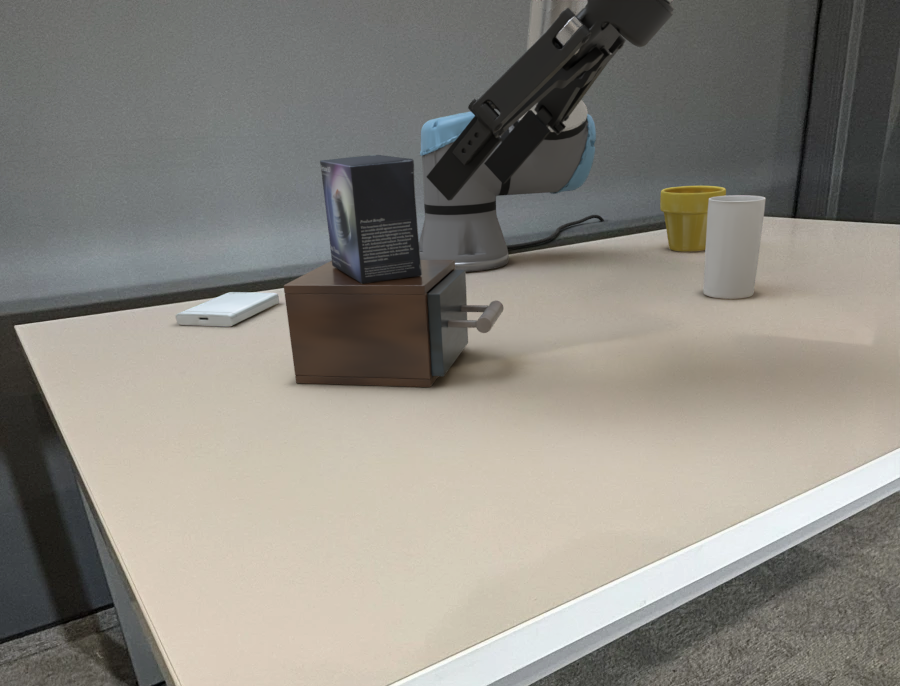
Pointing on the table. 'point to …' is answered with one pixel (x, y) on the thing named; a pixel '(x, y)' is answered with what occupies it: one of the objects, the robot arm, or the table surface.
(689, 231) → the flower pot
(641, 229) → the table surface
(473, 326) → the drawer
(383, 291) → the cabinet
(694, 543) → the table surface
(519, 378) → the table surface
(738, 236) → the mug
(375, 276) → the small box
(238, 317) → the hard drive
